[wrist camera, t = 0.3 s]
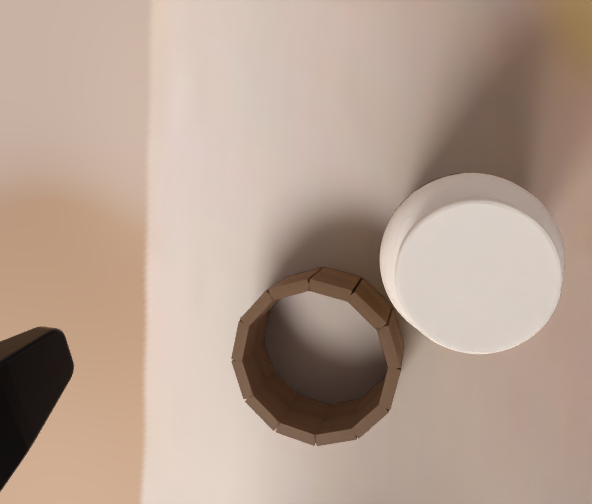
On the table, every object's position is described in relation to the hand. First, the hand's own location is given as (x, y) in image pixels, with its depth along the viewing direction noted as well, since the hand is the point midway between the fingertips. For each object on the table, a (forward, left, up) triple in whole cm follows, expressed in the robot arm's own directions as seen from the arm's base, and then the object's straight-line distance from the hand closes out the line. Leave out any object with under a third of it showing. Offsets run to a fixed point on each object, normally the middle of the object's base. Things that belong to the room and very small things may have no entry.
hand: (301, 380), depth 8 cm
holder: (-5, -1, -15) cm, 16 cm away
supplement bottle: (+3, -2, -15) cm, 16 cm away
